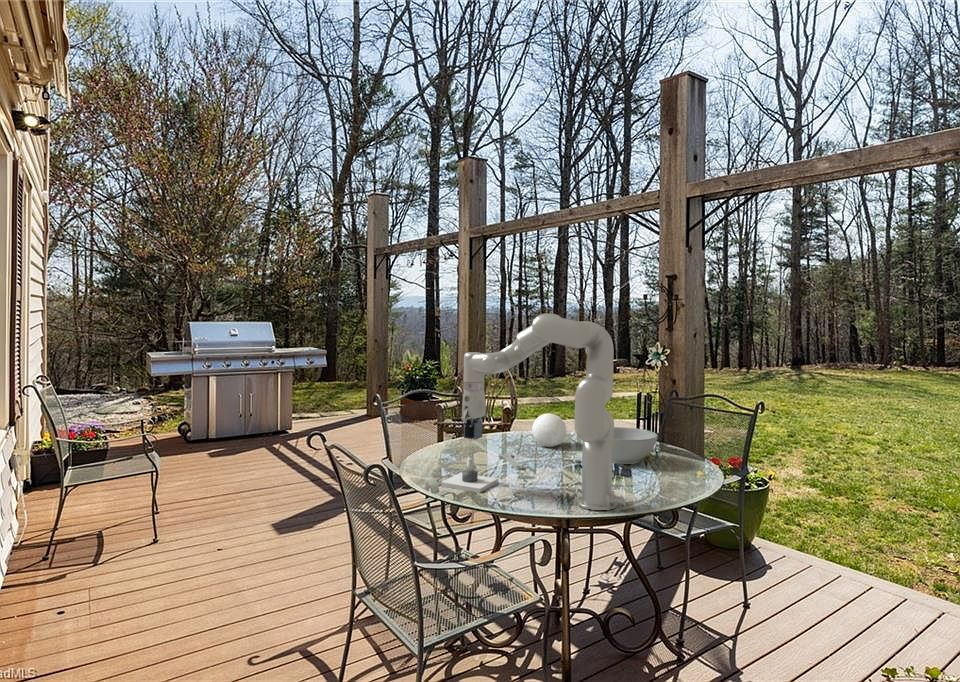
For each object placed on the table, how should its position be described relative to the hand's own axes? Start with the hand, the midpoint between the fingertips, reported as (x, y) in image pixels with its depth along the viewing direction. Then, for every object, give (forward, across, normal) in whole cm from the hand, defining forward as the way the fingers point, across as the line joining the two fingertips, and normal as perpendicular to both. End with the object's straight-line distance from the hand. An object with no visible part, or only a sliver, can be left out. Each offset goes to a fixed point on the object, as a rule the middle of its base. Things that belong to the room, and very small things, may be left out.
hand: (473, 435), depth 197 cm
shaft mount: (+18, 0, +1) cm, 18 cm away
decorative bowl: (+18, +62, -40) cm, 76 cm away
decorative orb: (+18, +72, -1) cm, 74 cm away
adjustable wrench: (+19, +36, +2) cm, 41 cm away
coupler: (+1, 0, 0) cm, 1 cm away
